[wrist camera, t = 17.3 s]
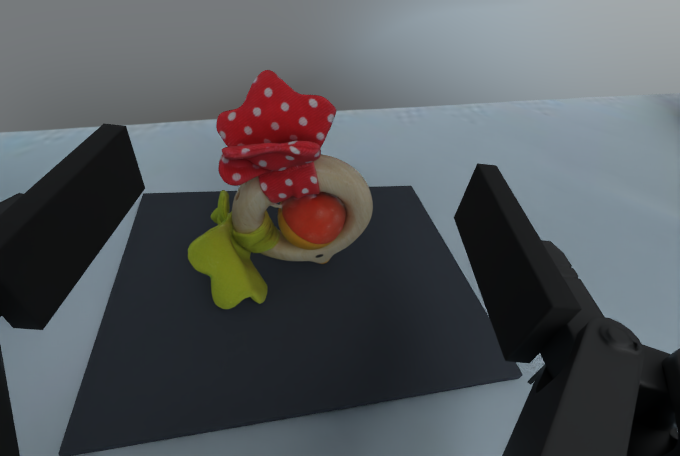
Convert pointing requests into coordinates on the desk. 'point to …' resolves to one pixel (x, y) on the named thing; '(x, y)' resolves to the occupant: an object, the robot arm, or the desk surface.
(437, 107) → the desk surface
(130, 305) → the mat
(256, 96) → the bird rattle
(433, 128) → the desk surface
